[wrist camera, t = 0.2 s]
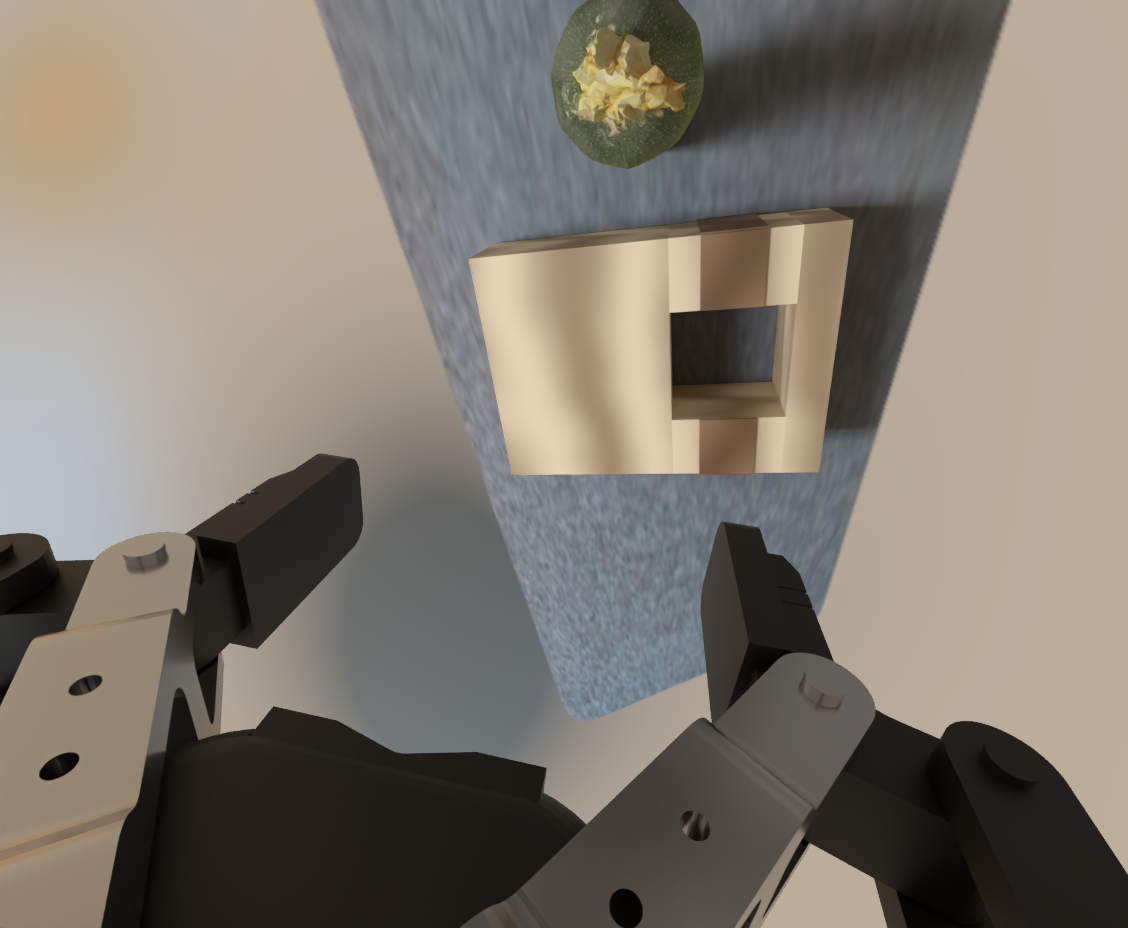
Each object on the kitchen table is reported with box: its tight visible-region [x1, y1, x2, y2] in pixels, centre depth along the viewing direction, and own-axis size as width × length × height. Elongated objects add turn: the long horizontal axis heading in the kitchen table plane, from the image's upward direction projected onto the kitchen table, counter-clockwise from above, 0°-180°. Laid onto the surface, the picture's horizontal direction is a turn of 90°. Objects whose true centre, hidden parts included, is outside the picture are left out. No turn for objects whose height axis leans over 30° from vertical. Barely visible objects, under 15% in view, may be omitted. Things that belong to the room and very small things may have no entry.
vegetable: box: [551, 0, 704, 169], centre depth 18 cm, size 4×4×20 cm
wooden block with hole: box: [469, 208, 854, 475], centre depth 30 cm, size 18×13×5 cm
